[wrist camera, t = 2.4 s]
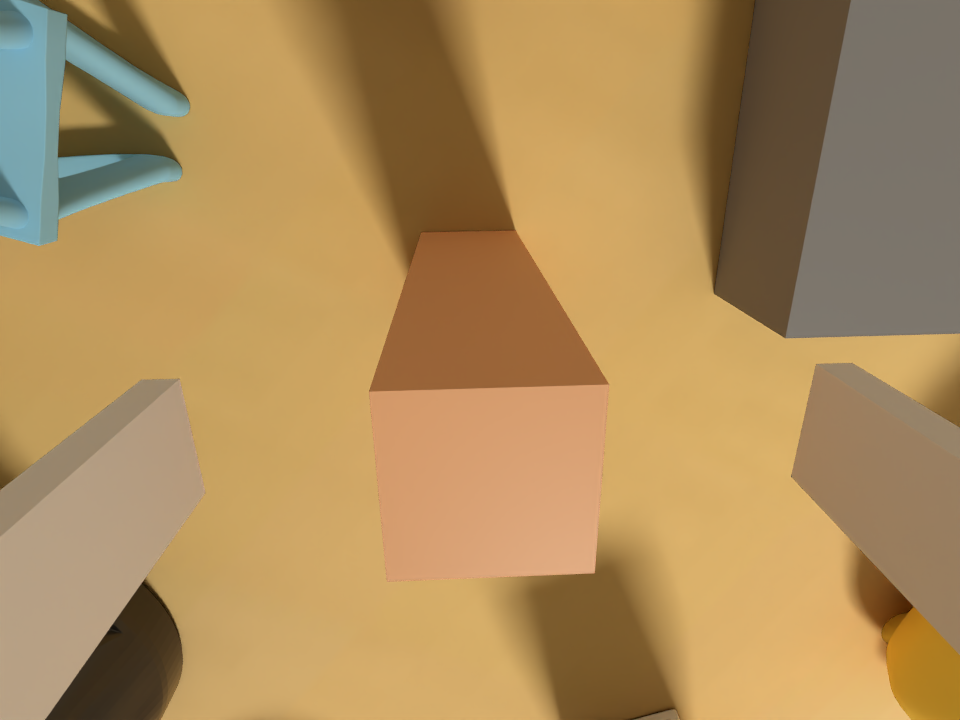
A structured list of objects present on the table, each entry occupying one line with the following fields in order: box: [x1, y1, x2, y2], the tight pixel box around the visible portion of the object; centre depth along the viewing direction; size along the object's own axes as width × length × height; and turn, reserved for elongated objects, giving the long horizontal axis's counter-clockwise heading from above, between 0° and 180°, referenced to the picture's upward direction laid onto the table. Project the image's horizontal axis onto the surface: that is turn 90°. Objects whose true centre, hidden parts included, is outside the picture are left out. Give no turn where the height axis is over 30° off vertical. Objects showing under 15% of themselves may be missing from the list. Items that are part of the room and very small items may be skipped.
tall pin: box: [369, 230, 609, 582], centre depth 18 cm, size 4×4×16 cm
